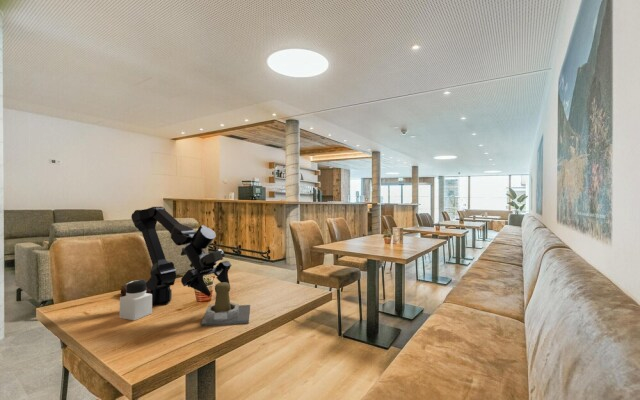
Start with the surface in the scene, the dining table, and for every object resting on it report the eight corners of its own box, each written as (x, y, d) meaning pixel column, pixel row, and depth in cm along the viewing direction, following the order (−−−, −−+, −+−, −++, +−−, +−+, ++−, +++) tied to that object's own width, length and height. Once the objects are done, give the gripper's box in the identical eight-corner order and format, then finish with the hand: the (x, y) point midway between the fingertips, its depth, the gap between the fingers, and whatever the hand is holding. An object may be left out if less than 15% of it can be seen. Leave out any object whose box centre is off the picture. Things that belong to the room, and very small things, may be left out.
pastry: (117, 294, 130) (117, 280, 130) (147, 288, 139) (147, 275, 139) (125, 300, 123) (125, 285, 123) (157, 293, 132) (157, 279, 132)
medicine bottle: (152, 313, 108) (152, 280, 108) (134, 321, 101) (134, 285, 101) (137, 311, 110) (137, 278, 110) (118, 318, 103) (119, 283, 104)
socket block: (201, 326, 97) (201, 315, 97) (208, 309, 112) (208, 300, 112) (248, 323, 100) (248, 312, 100) (250, 307, 115) (250, 298, 115)
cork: (211, 313, 106) (211, 282, 106) (229, 310, 109) (229, 279, 109) (215, 319, 101) (215, 286, 101) (233, 315, 104) (233, 283, 104)
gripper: (187, 246, 99) (211, 284, 94) (228, 239, 116) (250, 271, 111) (171, 267, 103) (193, 305, 98) (212, 258, 120) (233, 290, 115)
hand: (219, 291), depth 105 cm, fingers open, 9 cm apart
